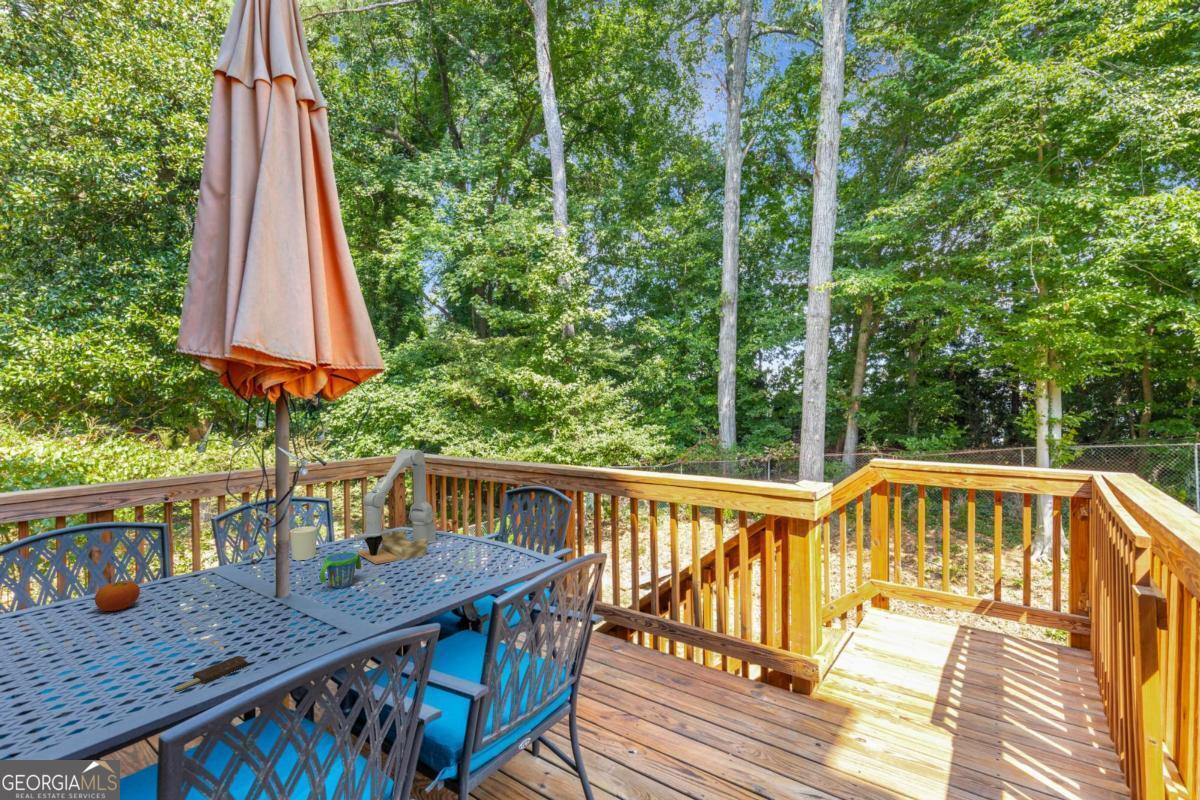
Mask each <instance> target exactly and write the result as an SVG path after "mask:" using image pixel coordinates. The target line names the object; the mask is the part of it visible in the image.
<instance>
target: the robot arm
mask: <svg viewBox="0 0 1200 800" xmlns="http://www.w3.org/2000/svg"><path fill="white" fill-rule="evenodd" d="M408 467H409V468H411V469H412V477H413V478H412V479H413V503H412V504H411V505H410V507H409V509H410V510H409V514H408V518H409V521H411V524H412V540H410V541H411V542H412V541H416V540H421V539H428V545H429V544H434V543H437V538H436V534H437V531H436V529H437V528H436V527H437V526H436V524H435V522H434V521H433V520H434V516H435V513H434V511H433V506H432V505H431V504H430V503H429V502H428V498H427V497H428V496H427V470H426V461H425V453H424V452H423V451H422V450H421V449H410V448H409V449H408V448H401V449H400V450H399V451H398V453H397V454H396V455H395V460H394V463H393V464H392V465H391V468H390V469H389V470H388V472H387V474H386V475H385V476H383V477H381V478H379V479H378V481H377V483H376V484H375V486H374V487H373V488H372V489H371V491H369V492H368V493H366V494H365V496H364V497H363V500H362V502H363V505H364V507H365V513H366V514H365V518H366V519H365V520H366V521H365V523H366V524H365V532H363V533H360V534H354V541H355V542H359V541H361V540H364V541H365V543H366V545H367V547H368V550H369V552H370V555H371V556H374V555H377V551H378V548H380V545H381V544H382V540H383V537H382V536H385V535H392V532H393V530H392V529H382V513H383V512H382V511H383V510H382V506H383V505H385V503H386V498H387V494H388V493H389V492H390V490H391V489H392V487H393V486H394V480H395V479H396V477H398V475H399V474H400V472H401V471H403V469H405V468H408Z"/></svg>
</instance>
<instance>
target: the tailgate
mask: <svg viewBox="0 0 1200 800" xmlns="http://www.w3.org/2000/svg"><path fill="white" fill-rule="evenodd" d="M357 555H359V556H360V557H362V558H364V559H366V560H368V561H369V562H370V563H373V564H375V565H378V564H384V563H390V562H397V561H399V558H398V557H396V556H394V555H392V554H390V553H388V552H386V551H384V550H382V548H380V547H379V548H378V551H377V555H374V556H371V555H370V552H369V549H363V550H358V551H357Z"/></svg>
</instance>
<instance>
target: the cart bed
mask: <svg viewBox="0 0 1200 800" xmlns="http://www.w3.org/2000/svg"><path fill="white" fill-rule="evenodd" d="M382 537H383V540H382V542H381V549H382V550H384V551H386V552H388V553H390V554H392V555H394V556H396V557H398V560H401V561H405V560H410V559H415V558H419V557H423V556H427V555H428V548H429V547H428V545H429V544H428V539H421V540H416V541H413V540H409V539H407V530H406V529H403V530H397V531H392V535H385V536H382ZM411 541H412V542H411Z"/></svg>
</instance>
